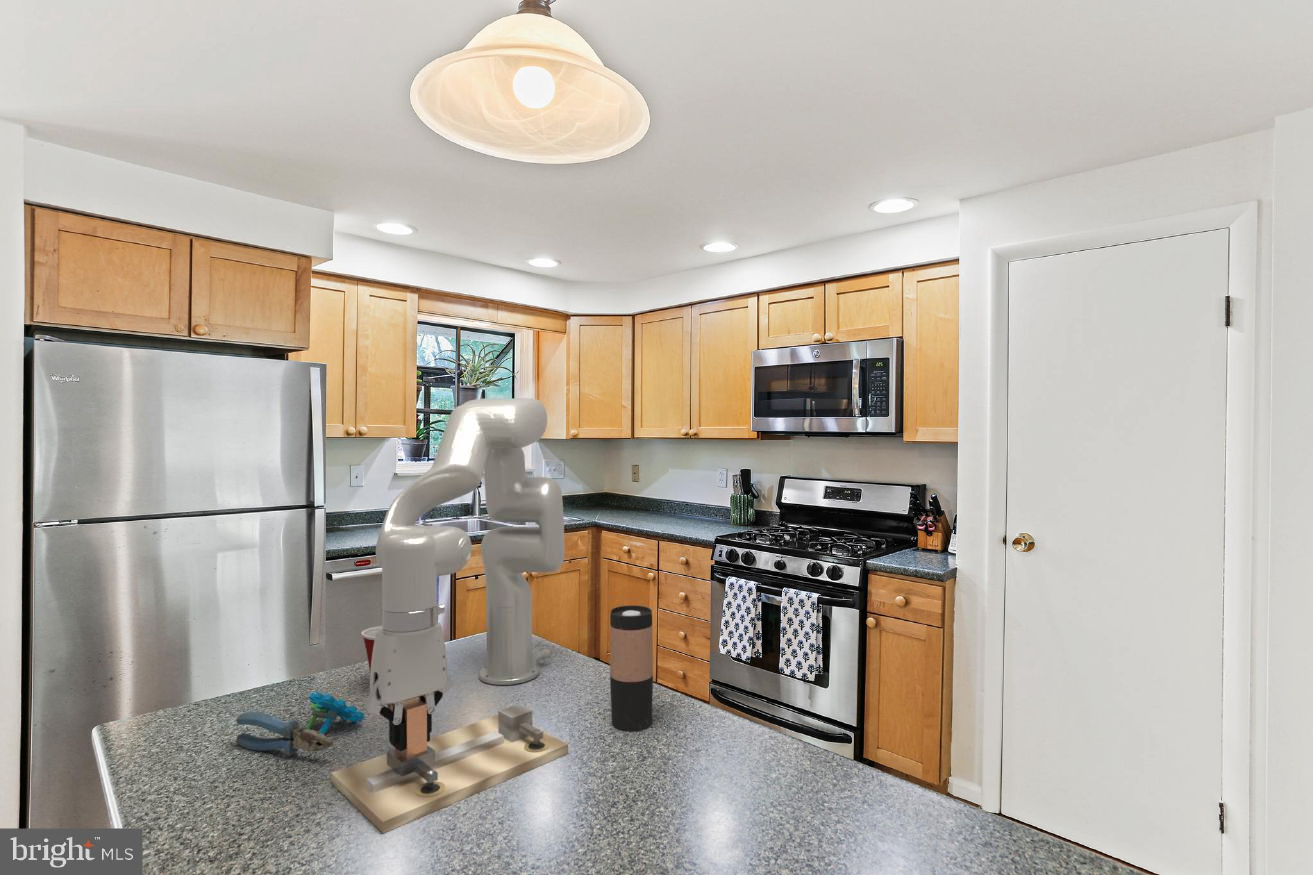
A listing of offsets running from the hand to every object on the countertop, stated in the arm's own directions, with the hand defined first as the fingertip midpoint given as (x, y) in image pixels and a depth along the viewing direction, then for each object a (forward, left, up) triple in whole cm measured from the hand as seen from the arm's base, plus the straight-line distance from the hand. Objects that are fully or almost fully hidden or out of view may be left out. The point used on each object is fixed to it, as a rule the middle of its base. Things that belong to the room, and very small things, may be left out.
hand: (410, 742), depth 98 cm
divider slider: (0, +2, -4) cm, 5 cm away
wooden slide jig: (-7, 0, -6) cm, 9 cm away
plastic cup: (-14, -39, -6) cm, 42 cm away
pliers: (+10, -24, -7) cm, 27 cm away
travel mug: (-37, +8, -6) cm, 38 cm away
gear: (+1, -28, -7) cm, 29 cm away
